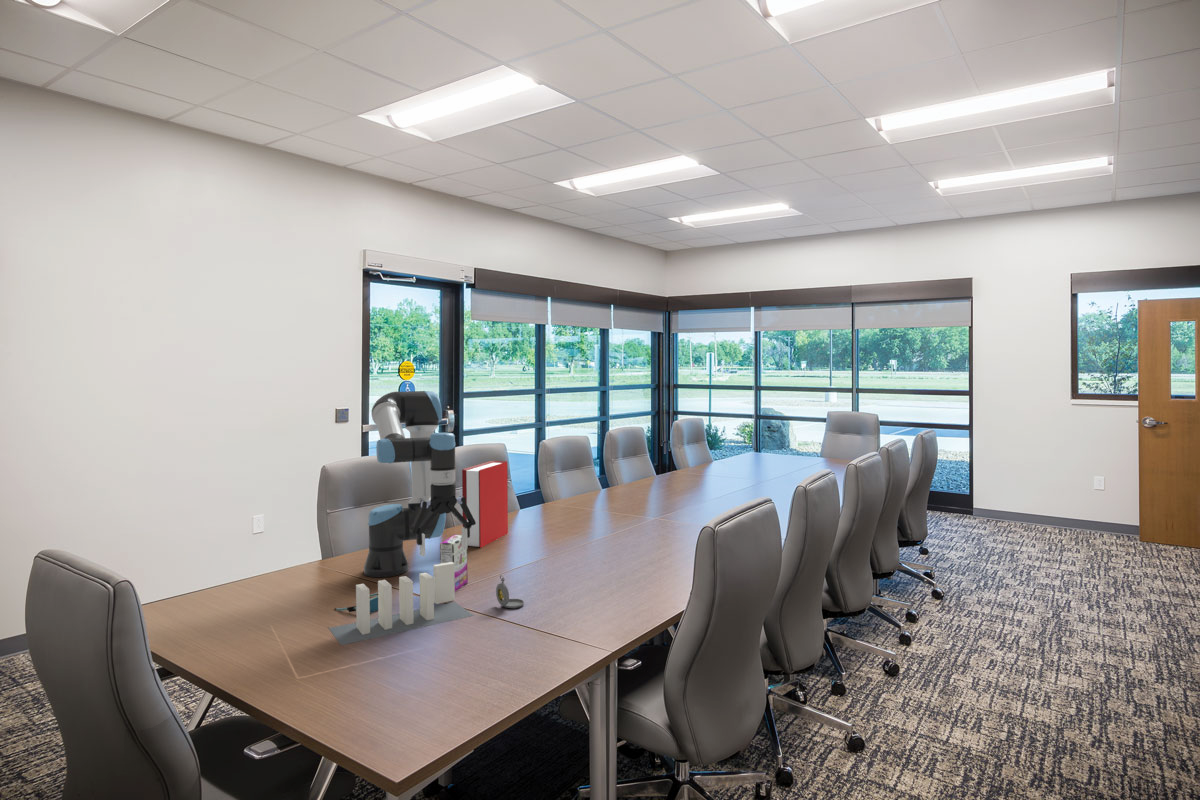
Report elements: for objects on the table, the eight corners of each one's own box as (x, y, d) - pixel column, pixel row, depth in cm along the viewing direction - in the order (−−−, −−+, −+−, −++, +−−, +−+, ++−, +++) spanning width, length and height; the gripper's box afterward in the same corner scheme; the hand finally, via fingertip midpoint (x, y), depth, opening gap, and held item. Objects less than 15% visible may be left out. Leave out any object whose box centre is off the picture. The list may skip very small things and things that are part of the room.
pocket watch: (527, 603, 204) (527, 571, 204) (515, 612, 196) (514, 579, 196) (503, 600, 207) (503, 568, 207) (490, 609, 199) (490, 576, 199)
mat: (328, 629, 183) (328, 628, 183) (455, 603, 204) (455, 601, 204) (341, 646, 172) (341, 645, 172) (473, 616, 193) (473, 615, 193)
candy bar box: (454, 582, 225) (453, 534, 224) (468, 583, 224) (467, 534, 223) (439, 592, 214) (439, 542, 213) (454, 593, 213) (453, 543, 212)
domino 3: (399, 618, 191) (399, 577, 190) (406, 616, 192) (405, 576, 191) (406, 624, 186) (405, 582, 185) (413, 623, 187) (412, 581, 186)
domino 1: (356, 627, 184) (355, 584, 183) (364, 626, 185) (363, 583, 184) (362, 634, 179) (361, 590, 178) (370, 632, 180) (369, 589, 179)
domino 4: (419, 614, 194) (419, 573, 193) (426, 612, 195) (426, 572, 195) (427, 620, 189) (426, 578, 189) (434, 618, 190) (433, 577, 190)
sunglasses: (370, 618, 193) (368, 601, 193) (330, 618, 198) (327, 602, 198) (400, 602, 206) (398, 586, 206) (362, 603, 211) (360, 587, 211)
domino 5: (436, 605, 202) (435, 566, 202) (433, 603, 204) (433, 565, 204) (454, 601, 206) (454, 563, 205) (452, 599, 208) (451, 561, 207)
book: (480, 548, 268) (479, 469, 267) (462, 547, 270) (462, 469, 269) (509, 532, 294) (508, 461, 293) (492, 531, 296) (492, 460, 295)
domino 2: (378, 622, 187) (377, 580, 187) (385, 621, 188) (385, 579, 188) (384, 629, 182) (384, 586, 182) (392, 628, 183) (391, 585, 183)
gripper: (406, 488, 193) (408, 560, 194) (485, 480, 207) (486, 548, 208) (398, 485, 199) (399, 555, 200) (475, 478, 214) (476, 543, 214)
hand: (443, 551), depth 204 cm, fingers open, 13 cm apart
